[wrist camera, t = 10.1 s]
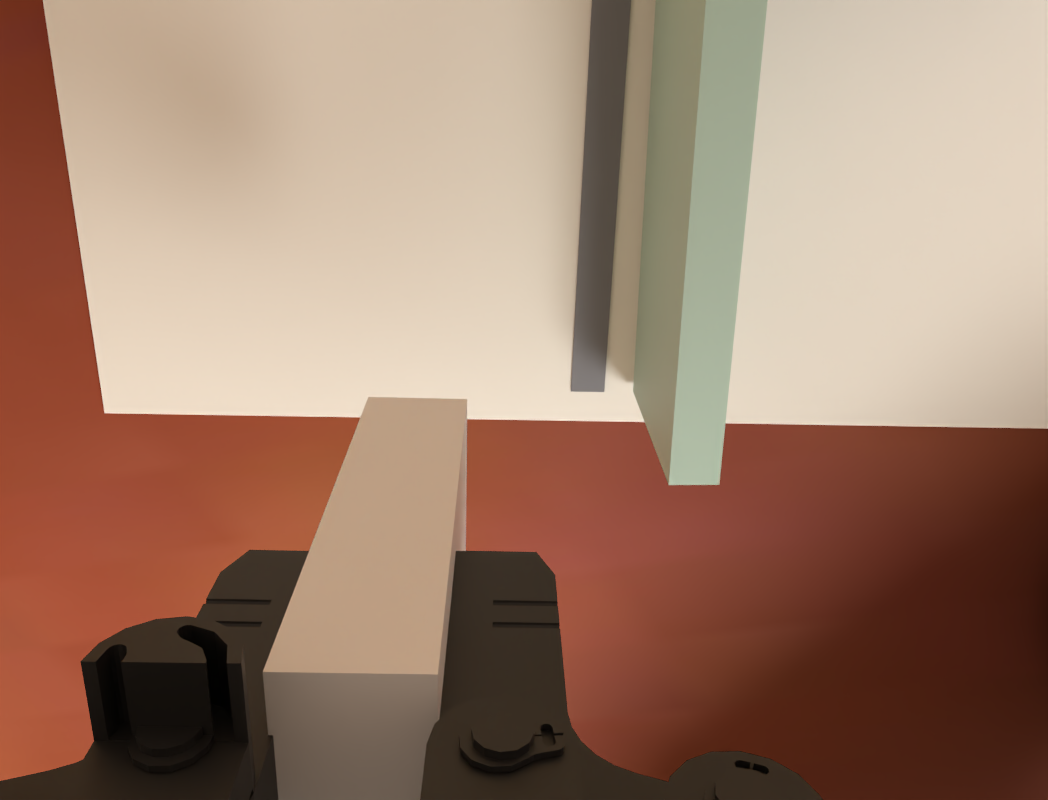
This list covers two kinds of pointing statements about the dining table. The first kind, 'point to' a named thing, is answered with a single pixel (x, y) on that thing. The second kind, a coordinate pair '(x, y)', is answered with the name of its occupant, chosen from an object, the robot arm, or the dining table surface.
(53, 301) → the dining table surface
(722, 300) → the green fence panel
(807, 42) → the card
